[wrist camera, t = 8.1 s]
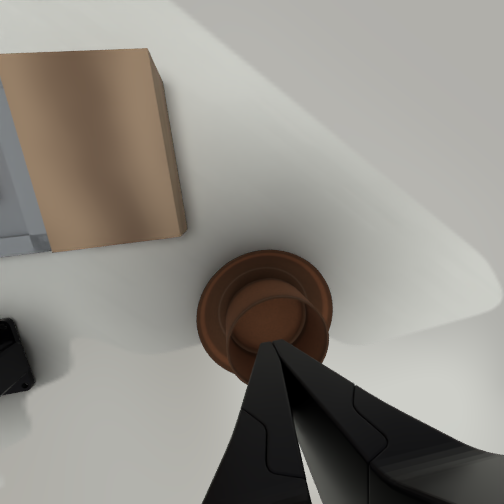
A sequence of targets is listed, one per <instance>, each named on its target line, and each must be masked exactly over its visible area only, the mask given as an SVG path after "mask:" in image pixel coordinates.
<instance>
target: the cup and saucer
mask: <svg viewBox="0 0 504 504" xmlns="http://www.w3.org/2000/svg"><path fill="white" fill-rule="evenodd" d="M332 313H333V306H332V297H331V293H330V290H329V287H328V285H327V283H326V281H325V279H324V278H323V276H322V275H321V273H320V272H319V271H318V270H317V269H316V268H315V267H314V266H313V265H312V264H310V263H309V262H308V261H306V260H305V259H303V258H301V257H299V256H297V255H295V254H292V253H289V252H285V251H279V250H260V251H254V252H250V253H247V254H244V255H241V256H239V257H237V258H235V259H233V260H232V261H230V262H228V263H227V264H226V265H224V266H223V267H222V268H221V269H220V270H218V271H217V272H216V274H215V275H214V276H213V277H212V278H211V279H210V281H209V282H208V284H207V285H206V287H205V289H204V291H203V293H202V295H201V298H200V301H199V304H198V309H197V330H198V334H199V338H200V341H201V343H202V345H203V347H204V349H205V350H206V352H207V353H208V354H209V356H210V357H211V358H212V359H213V360H214V361H215V362H216V363H217V364H218V365H219V366H221V367H222V368H224V369H226V370H227V371H229V372H232V373H234V374H235V375H236V376H237V377H238V378H239V379H240V380H241V381H242V382H244V383H245V384H247V385H248V382H249V379H250V376H251V372H252V369H253V366H254V362H255V359H256V356H257V352H258V349H259V346H260V343H263V342H269V341H270V342H272V341H274V340H280V339H283V340H285V341H286V342H288V343H290V344H291V345H293V346H294V347H296V348H298V349H299V350H301V351H302V352H304V353H306V354H307V355H309V356H310V357H312V358H314V359H315V360H317V361H318V362H320V363H322V362H323V360H324V358H325V356H326V353H327V350H328V345H329V333H328V331H329V328H330V325H331V321H332Z"/></svg>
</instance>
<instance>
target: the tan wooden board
mask: <svg viewBox="0 0 504 504" xmlns="http://www.w3.org/2000/svg"><path fill="white" fill-rule="evenodd" d="M0 78H1V81H2V84H3V88H4V91H5V94H6V98H7V101H8V105H9V108H10V111H11V115H12V118H13V121H14V125H15V128H16V131H17V135H18V138H19V142H20V145H21V148H22V152H23V155H24V158H25V162H26V165H27V169H28V172H29V175H30V179H31V182H32V185H33V189H34V192H35V195H36V199H37V202H38V206H39V209H40V212H41V216H42V219H43V222H44V226H45V229H46V232H47V236H48V239H49V243H50V246H51V249H52V253H54V252H61V251H69V250H77V249H85V248H93V247H101V246H109V245H117V244H125V243H133V242H141V241H149V240H157V239H165V238H173V237H180V236H182V235H183V234H184V233H185V232H186V231H187V224H186V218H185V212H184V206H183V200H182V194H181V188H180V182H179V176H178V170H177V164H176V158H175V152H174V147H173V141H172V135H171V129H170V123H169V117H168V111H167V105H166V99H165V93H164V87H163V81H162V79H161V77H160V75H159V73H158V70H157V68H156V66H155V64H154V62H153V60H152V57H151V55H150V53H149V51H148V49H147V48H142V49H116V50H90V51H64V52H37V53H11V54H0Z"/></svg>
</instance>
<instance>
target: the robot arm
mask: <svg viewBox="0 0 504 504" xmlns="http://www.w3.org/2000/svg"><path fill="white" fill-rule="evenodd" d="M4 324H5V325H6V326H7V327H5V326H4ZM27 384H28V385H27ZM34 384H35V381H34V378H33V375H32V372H31V369H30V367H29V364H28V361H27V358H26V355H25V352H24V350H23V347H22V344H21V341H20V338H19V336H18V333H17V330H16V327H15V324H14V322H13V321H12V320H11V319H0V397H1V396H2V395H6V394H12V393H17V392H23V391H27V390H29V389H31V388H32V387H33V386H34ZM298 442H299V443H298ZM299 444H300V447H301V449H302V452H303V454H304V457H305V460H306V462H307V465H308V467H309V470H310V472H311V475H312V477H313V480H314V482H315V485H316V487H317V490H318V493H319V495H320V498H321V500H322V503H323V504H504V455H500V454H494V453H489V452H486V451H483V450H479V449H476V448H474V447H471V446H469V445H466V444H464V443H462V442H460V441H458V440H456V439H454V438H452V437H450V436H448V435H446V434H444V433H442V432H441V431H439V430H437V429H435V428H433V427H431V426H429V425H427V424H425V423H423V422H421V421H419V420H417V419H415V418H413V417H412V416H410V415H408V414H406V413H404V412H402V411H400V410H398V409H396V408H395V407H393V406H391V405H389V404H387V403H385V402H383V401H382V400H380V399H378V398H377V397H375V396H373V395H371V394H370V393H368V392H367V391H365V390H363V389H362V388H360V387H358V386H357V385H356V386H355V385H354V383H352V382H350V381H349V380H347V379H346V378H344V377H342V376H341V375H339V374H338V373H336V372H334V371H333V370H331V369H330V368H328V367H326V366H325V365H323V364H322V363H320V362H318V361H317V360H315V359H314V358H312V357H310V356H309V355H307V354H306V353H304V352H302V351H301V350H299V349H298V348H296V347H294V346H293V345H291V344H290V343H288V342H286V341H285V340H283V339H280V340H274V341H272V342H270V341H269V342H263V343H260V346H259V349H258V352H257V356H256V359H255V362H254V366H253V369H252V372H251V376H250V379H249V382H248V386H247V389H246V393H245V396H244V399H243V403H242V406H241V410H240V412H239V416H238V419H237V422H236V425H235V428H234V431H233V434H232V437H231V439H230V442H229V444H228V447H227V449H226V451H225V453H224V456H223V458H222V460H221V463H220V465H219V467H218V469H217V471H216V473H215V476H214V478H213V480H212V482H211V484H210V487H209V489H208V491H207V494H206V495H205V498H204V500H203V502H202V504H312V502H311V499H310V495H309V490H308V486H307V482H306V476H305V472H304V467H303V462H302V457H301V453H300V448H299Z"/></svg>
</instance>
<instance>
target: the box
mask: <svg viewBox="0 0 504 504" xmlns="http://www.w3.org/2000/svg"><path fill="white" fill-rule="evenodd" d="M47 251H52V249H51V246H50V243H49V239H48V236H47V232H46V229H45V226H44V222H43V219H42V216H41V212H40V209H39V206H38V202H37V199H36V195H35V192H34V189H33V185H32V182H31V179H30V175H29V172H28V169H27V165H26V162H25V158H24V155H23V152H22V148H21V145H20V142H19V138H18V135H17V131H16V128H15V125H14V121H13V118H12V115H11V111H10V108H9V105H8V101H7V98H6V94H5V91H4V88H3V84H2V81H1V78H0V257H7V256H15V255H23V254H31V253H39V252H47Z"/></svg>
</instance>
